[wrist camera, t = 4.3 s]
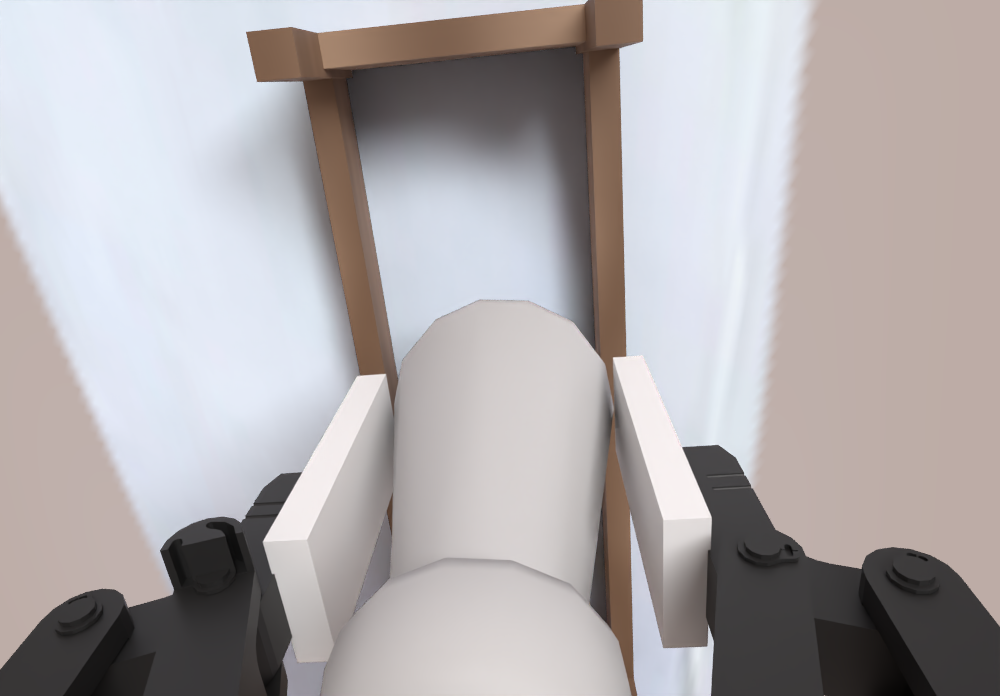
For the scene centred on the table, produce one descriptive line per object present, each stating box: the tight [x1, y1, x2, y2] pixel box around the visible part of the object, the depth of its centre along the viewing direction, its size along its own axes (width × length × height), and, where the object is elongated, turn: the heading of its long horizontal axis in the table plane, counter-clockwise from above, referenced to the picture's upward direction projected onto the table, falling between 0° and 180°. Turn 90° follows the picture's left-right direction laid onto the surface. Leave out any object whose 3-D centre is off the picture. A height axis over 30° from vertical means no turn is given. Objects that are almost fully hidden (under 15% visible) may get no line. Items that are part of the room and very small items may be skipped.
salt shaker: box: [320, 300, 632, 696], centre depth 14 cm, size 6×6×13 cm
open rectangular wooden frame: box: [246, 0, 643, 696], centre depth 21 cm, size 8×25×5 cm, turn 5°
